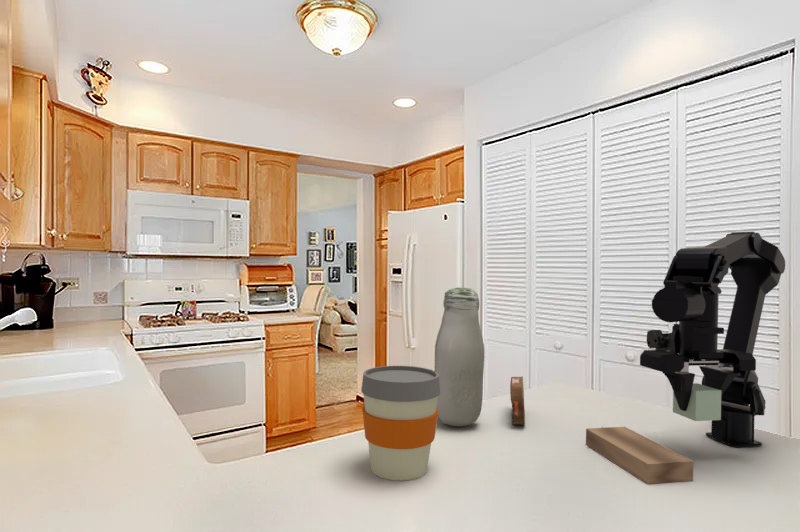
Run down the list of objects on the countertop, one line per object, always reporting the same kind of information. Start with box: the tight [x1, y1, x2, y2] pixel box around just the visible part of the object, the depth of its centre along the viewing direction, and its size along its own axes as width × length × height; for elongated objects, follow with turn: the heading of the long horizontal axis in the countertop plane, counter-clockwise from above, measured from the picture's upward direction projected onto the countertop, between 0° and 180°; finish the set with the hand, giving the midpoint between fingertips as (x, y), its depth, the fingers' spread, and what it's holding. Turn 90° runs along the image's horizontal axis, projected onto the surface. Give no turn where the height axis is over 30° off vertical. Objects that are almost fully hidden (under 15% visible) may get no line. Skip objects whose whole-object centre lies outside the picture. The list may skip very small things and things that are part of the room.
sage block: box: [672, 382, 721, 422], centre depth 83 cm, size 5×5×5 cm
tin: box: [509, 376, 526, 427], centre depth 102 cm, size 15×3×8 cm, turn 165°
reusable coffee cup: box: [360, 365, 440, 482], centre depth 75 cm, size 13×13×15 cm
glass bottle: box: [433, 287, 486, 428], centre depth 97 cm, size 10×10×28 cm
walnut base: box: [585, 426, 694, 485], centre depth 80 cm, size 8×16×3 cm, turn 11°
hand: (696, 409), depth 83 cm, fingers closed on sage block, 5 cm apart
